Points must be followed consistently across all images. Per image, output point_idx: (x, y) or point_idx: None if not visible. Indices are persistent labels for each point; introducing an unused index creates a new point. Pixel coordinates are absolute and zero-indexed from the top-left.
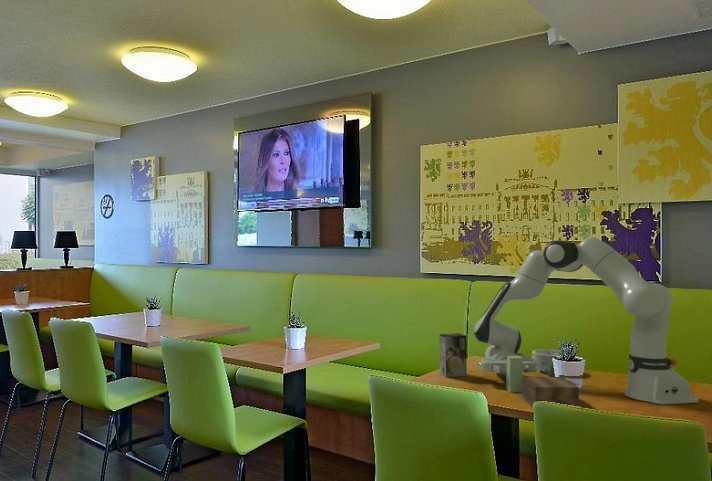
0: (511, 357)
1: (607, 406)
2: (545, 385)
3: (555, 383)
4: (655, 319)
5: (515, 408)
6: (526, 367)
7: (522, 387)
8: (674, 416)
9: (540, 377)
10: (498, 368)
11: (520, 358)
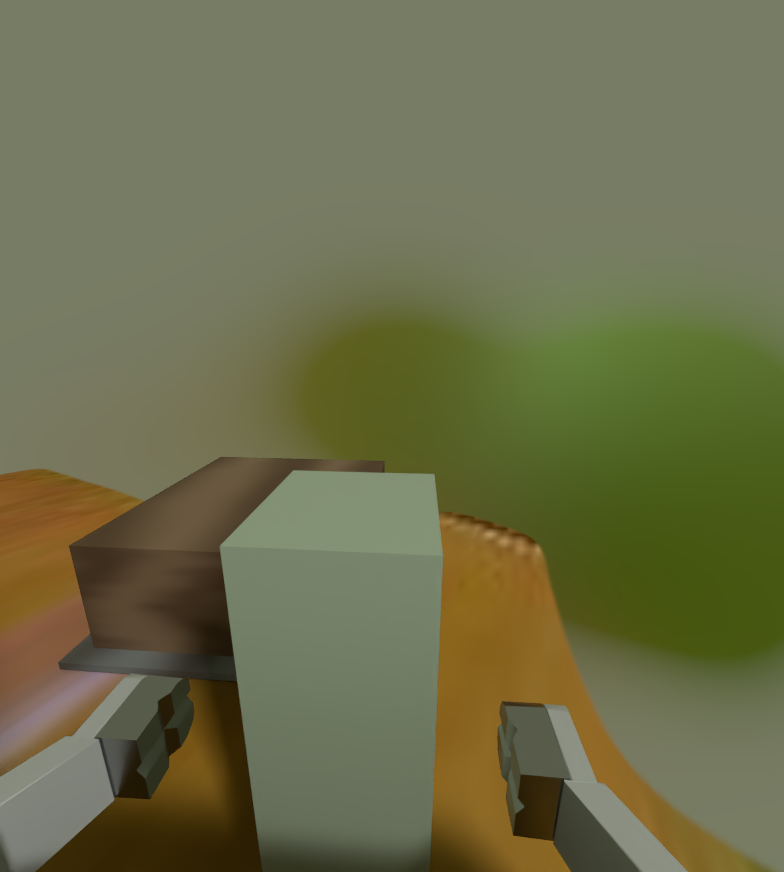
0: (404, 492)
1: None
2: (330, 468)
3: (262, 480)
4: None
5: (462, 525)
6: (133, 695)
7: None
8: (50, 481)
9: None
10: (567, 720)
11: (319, 472)
